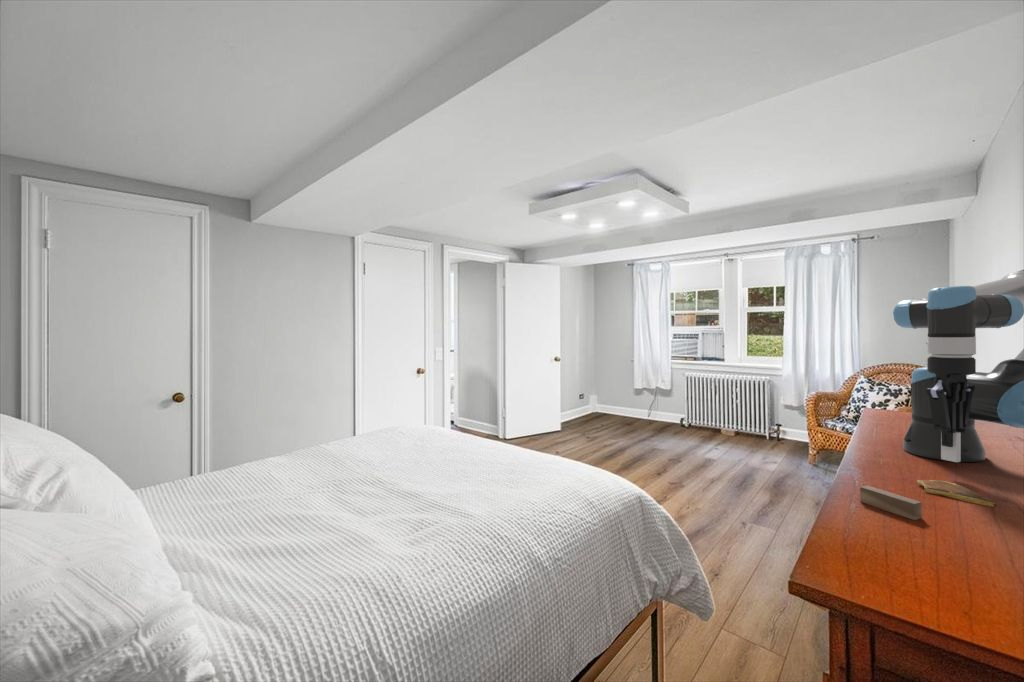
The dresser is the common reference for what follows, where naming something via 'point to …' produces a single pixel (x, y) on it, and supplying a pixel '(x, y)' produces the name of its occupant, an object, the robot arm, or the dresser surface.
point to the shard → (954, 491)
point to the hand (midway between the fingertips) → (950, 460)
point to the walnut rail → (891, 502)
